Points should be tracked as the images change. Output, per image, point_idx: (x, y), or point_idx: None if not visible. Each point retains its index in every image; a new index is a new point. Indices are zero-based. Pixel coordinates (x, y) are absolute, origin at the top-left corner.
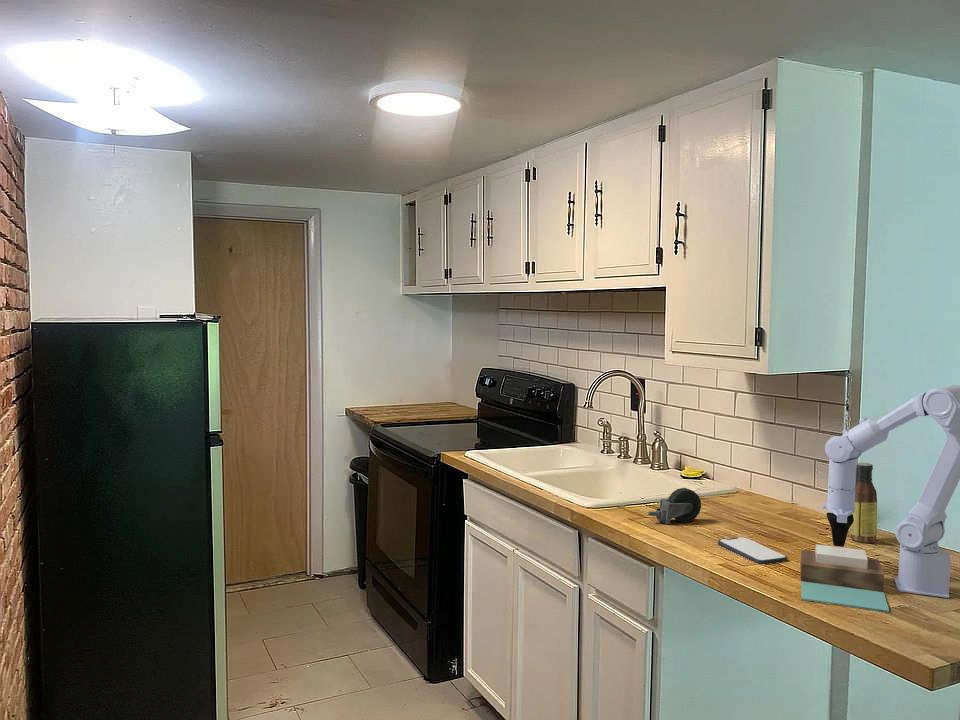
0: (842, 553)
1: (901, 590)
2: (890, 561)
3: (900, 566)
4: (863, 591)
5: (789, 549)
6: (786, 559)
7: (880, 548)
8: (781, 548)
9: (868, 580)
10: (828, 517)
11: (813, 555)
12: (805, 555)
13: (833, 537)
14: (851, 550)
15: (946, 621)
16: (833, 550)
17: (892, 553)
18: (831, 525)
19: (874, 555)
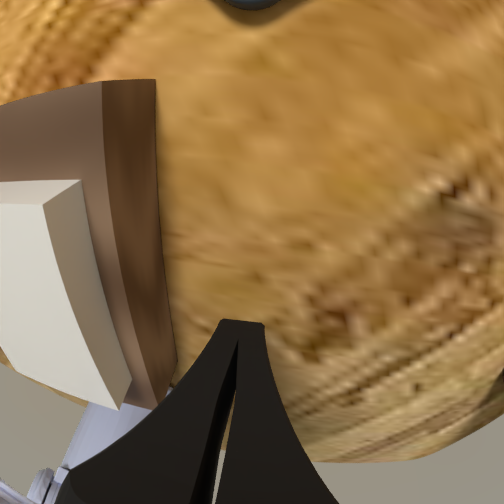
0: (6, 317)
1: None
2: (359, 407)
3: (93, 423)
4: None
5: (471, 71)
6: (231, 3)
7: (467, 390)
8: (473, 34)
9: None
10: (57, 501)
11: (35, 168)
12: (18, 123)
13: (198, 361)
14: (71, 367)
15: (13, 368)
16: (12, 291)
17: (427, 409)
18: (121, 442)
19: (414, 382)
